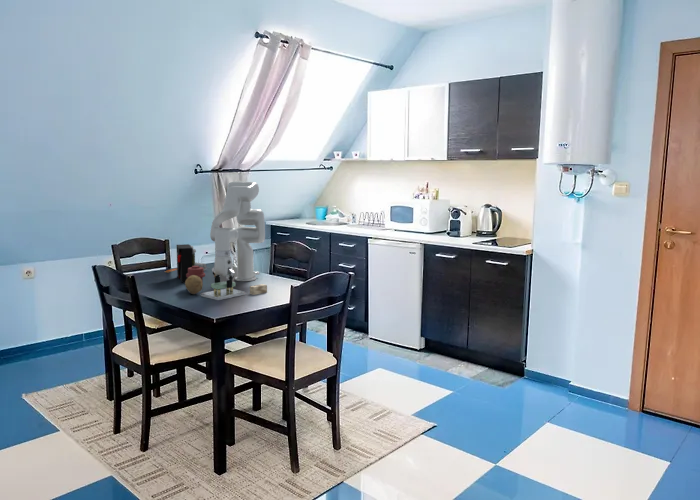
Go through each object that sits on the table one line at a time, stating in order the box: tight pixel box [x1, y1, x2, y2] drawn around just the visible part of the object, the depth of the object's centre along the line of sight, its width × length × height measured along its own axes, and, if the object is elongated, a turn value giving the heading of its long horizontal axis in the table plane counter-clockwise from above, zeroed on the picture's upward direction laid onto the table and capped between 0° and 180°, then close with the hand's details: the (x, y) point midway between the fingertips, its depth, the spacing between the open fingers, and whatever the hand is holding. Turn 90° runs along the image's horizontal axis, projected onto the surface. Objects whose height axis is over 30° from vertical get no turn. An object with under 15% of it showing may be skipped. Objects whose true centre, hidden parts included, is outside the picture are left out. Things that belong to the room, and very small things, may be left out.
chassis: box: [200, 286, 247, 301], centre depth 283 cm, size 18×14×4 cm
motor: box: [164, 261, 210, 273], centre depth 350 cm, size 23×22×5 cm
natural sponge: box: [184, 275, 204, 295], centre depth 285 cm, size 9×9×10 cm
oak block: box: [249, 283, 268, 296], centre depth 290 cm, size 9×4×4 cm, turn 141°
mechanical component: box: [186, 266, 206, 286], centre depth 299 cm, size 12×10×10 cm
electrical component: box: [176, 243, 197, 284], centre depth 322 cm, size 18×10×20 cm, turn 22°
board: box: [210, 280, 236, 289], centre depth 283 cm, size 11×6×2 cm, turn 141°
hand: (223, 286), depth 283 cm, fingers open, 9 cm apart
